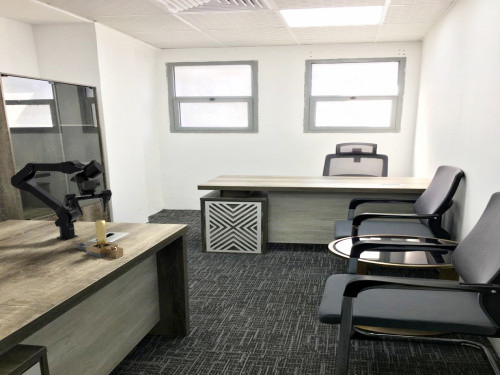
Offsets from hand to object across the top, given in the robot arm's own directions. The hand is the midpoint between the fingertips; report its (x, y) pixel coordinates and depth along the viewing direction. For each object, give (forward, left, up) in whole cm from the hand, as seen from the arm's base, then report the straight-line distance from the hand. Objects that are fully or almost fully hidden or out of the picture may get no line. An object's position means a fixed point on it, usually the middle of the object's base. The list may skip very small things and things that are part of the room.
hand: (93, 213), depth 156 cm
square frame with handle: (+9, -5, -14) cm, 17 cm away
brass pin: (+11, -5, -14) cm, 18 cm away
